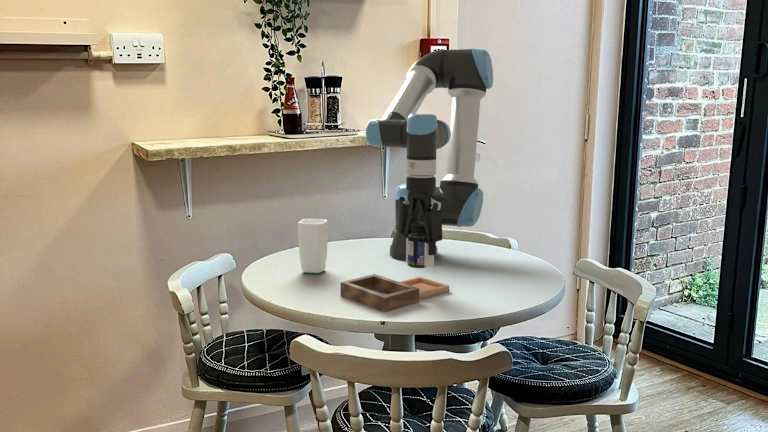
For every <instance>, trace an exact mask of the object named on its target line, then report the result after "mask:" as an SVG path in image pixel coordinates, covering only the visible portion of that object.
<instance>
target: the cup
mask: <svg viewBox="0 0 768 432" xmlns="http://www.w3.org/2000/svg"><path fill="white" fill-rule="evenodd" d="M328 222H329V221H328V220H327V219H326V218H303V219H301V220H299V221H298V222H297V232H298V235H297V237H298V238H297V239H298V251H299V252H298V253H299V261H300V267H301V272H303V273H305V274H314V275H315V274H316V275H317V274H321V273H323V272H324V270H325V269H326V264H327V257H328V243H329V242H328V239H329V238H328V235H329V234H328V233H329V232H328V230H329V229H328V228H329V227H328Z"/></svg>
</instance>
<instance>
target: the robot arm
mask: <svg viewBox="0 0 768 432" xmlns="http://www.w3.org/2000/svg"><path fill="white" fill-rule="evenodd" d="M493 69H494V68H493V62H492V57H491V55H490V53H489V51H487V50H486V49H476V48H468V49H466V48H464V49H463V48H462V49H461V48H459V49H437V50H434V51H431V52H429V53H426V54H425V55H423V56H422V57H420V58H419V59H418V60H416V61H415V62H414V63H413V64H412V65H411V66H410V68H409V69H408V70H407V73H406V75H405V82H404V83H403V85H402V86H401V88H400V89H399V91H398V92H397V94H396V95H395V97H394V99H393V100H392V102H391V103H390V105H389V107H388V108H387V110H386V111H385V112H384V114H383V116H382V117H381V118H372V119H370V120H369V121H368V122H367V124H366V126H365V138H366V142H367V143H368V145H369V146H371V147H376V148H377V147H378V148H393V149H396V148H398V149H401V148H402V149H406V175H408V176H406V178H405V179H406V180H405V183H402V184H400V185H398V186H397V187H396V189H395V199H394V204H395V206H394V208H395V211H394V212H395V214H394V215H395V219H394V220H395V221H394V223H395V228H394V229H395V231H394V235H393V238H392V242H391V244H390V246H389V256H390V257H391V258H393V259H396V260H401V261H405V263H407V264H408V235H409V233H411V232H412V230H411V224H412V223H424V228H425V233H426V238H427V241H425V253H424V268H423V269H425V268H426V269H428V268H431V267H432V268H433V267H434V265H435V258H437V257H438V246H437V244H436V243H437V242H441V241H443V226H450V227H457V228H463V227H464V228H465V227H468V228H469V227H474V226H475V225H476V224H477V222H478V221H479V219H480V215H481V214H482V213H481V212H482V210H483V204H484V191H483V190H482V189H481V188H479V183H478V181H477V180H476V179H475V171H476V170H475V169H476V168H475V167H476V155H477V146H478V145H477V143H478V131H479V122H480V119H479V118H480V111H481V101H482V99H484V97H486V95H487V90H490V89H491V88H492V87H493V83H494V70H493ZM439 88H440V89H447V93H448V95H449V97H450V98H451V99H452V100H451V110H450V111H451V112H450V122H449V123H450V124H449V125H448V124H447V123H446V122H445V121H444V120H440V119H438V117H437V115H436V114H433V113H432V114H431V113H417V112H418V111H419V109H420V107H421V105H422V104H423V103H424V100H426V97H427V95H429V94H430V93H433V91H434V90H435V89H439ZM447 144H448V145H447ZM446 145H447V147H448V148H447V154H446V155H447V158H446V168H445V175H444V177H443V178H442V179H440V182H439V186H437V178H436V176H435V175H437V150H438V149H441V148H444V146H446ZM431 237H432V238H431Z"/></svg>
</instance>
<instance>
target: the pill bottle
mask: <svg viewBox="0 0 768 432" xmlns="http://www.w3.org/2000/svg"><path fill="white" fill-rule="evenodd" d="M411 230H412V232H411V233H409V235H408V263H407V266H408V267H409V268H413V269H425V268H424V253H425V241H427V238H426V233H425V228H424V223H412V224H411ZM431 238H432V237H431Z"/></svg>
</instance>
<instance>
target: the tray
mask: <svg viewBox="0 0 768 432" xmlns="http://www.w3.org/2000/svg"><path fill="white" fill-rule="evenodd" d="M400 282H401V283H404V284H407V285H410V286H413V287H416V288H419V301H421V300H425V299H429V298H432V297H436V296H439V295H442V294H445V293H449V292H450V285H448V284H446V283H442V282H439V281H435V280H432V279H429V278H426V277H422V276H418V277H413V278H409V279H406V280H402V281H400Z"/></svg>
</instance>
